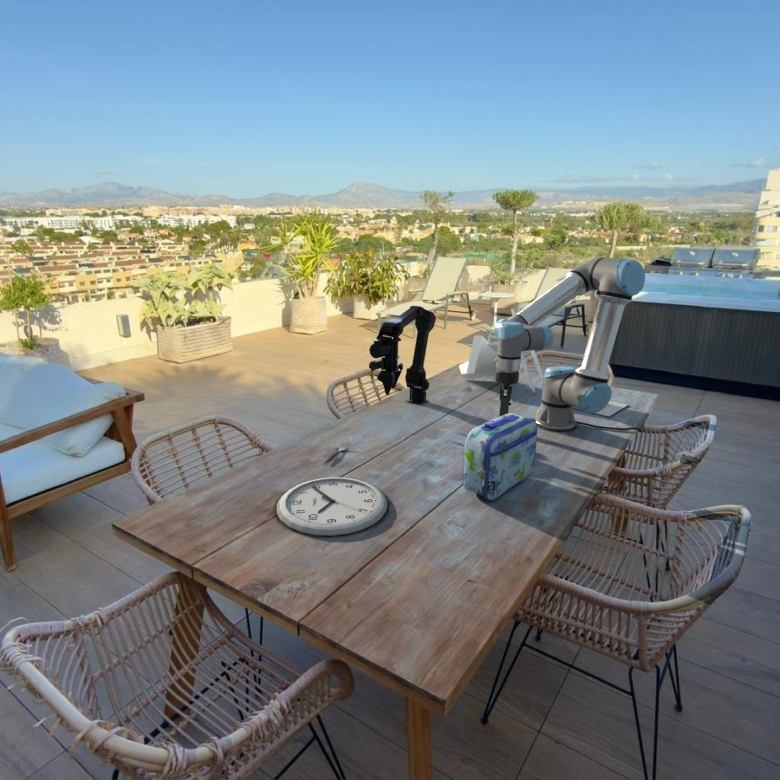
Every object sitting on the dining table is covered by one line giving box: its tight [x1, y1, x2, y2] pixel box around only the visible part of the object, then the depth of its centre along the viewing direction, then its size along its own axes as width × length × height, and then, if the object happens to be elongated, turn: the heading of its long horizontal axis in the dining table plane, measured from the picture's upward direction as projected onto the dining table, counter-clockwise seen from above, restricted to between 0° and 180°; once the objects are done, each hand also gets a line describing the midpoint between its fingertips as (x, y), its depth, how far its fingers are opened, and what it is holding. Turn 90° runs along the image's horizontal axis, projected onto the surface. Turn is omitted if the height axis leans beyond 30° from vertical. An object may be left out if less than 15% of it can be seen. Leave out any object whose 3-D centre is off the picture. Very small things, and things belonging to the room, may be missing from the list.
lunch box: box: [462, 412, 538, 502], centre depth 152 cm, size 26×11×21 cm, turn 135°
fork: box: [325, 439, 350, 464], centre depth 174 cm, size 3×16×2 cm, turn 160°
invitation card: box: [573, 400, 629, 418], centre depth 226 cm, size 21×1×15 cm
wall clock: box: [276, 476, 388, 537], centre depth 142 cm, size 30×2×30 cm
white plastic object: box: [458, 308, 544, 394], centre depth 254 cm, size 37×45×31 cm
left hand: (390, 391), depth 210 cm, fingers open, 9 cm apart
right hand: (502, 430), depth 177 cm, fingers open, 13 cm apart
